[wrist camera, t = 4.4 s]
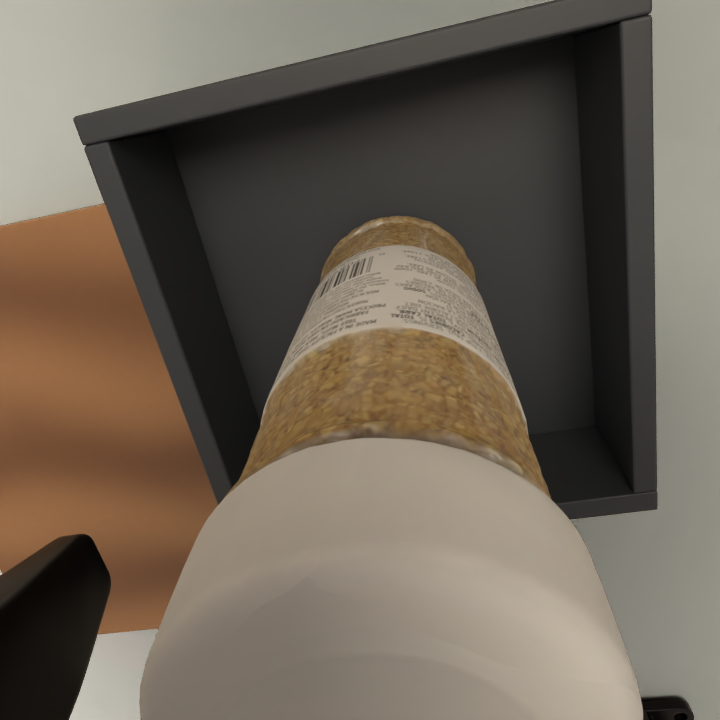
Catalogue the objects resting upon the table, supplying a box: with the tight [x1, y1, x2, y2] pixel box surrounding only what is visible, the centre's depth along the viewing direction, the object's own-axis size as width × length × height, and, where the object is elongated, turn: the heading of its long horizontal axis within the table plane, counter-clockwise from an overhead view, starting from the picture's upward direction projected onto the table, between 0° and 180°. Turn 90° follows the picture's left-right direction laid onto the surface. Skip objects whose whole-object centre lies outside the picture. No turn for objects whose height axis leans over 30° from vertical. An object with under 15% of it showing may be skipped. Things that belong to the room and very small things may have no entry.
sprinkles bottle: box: [140, 216, 643, 720], centre depth 11 cm, size 5×5×14 cm
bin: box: [73, 0, 657, 519], centre depth 16 cm, size 12×12×4 cm
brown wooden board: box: [0, 203, 218, 634], centre depth 21 cm, size 16×10×1 cm, turn 12°
